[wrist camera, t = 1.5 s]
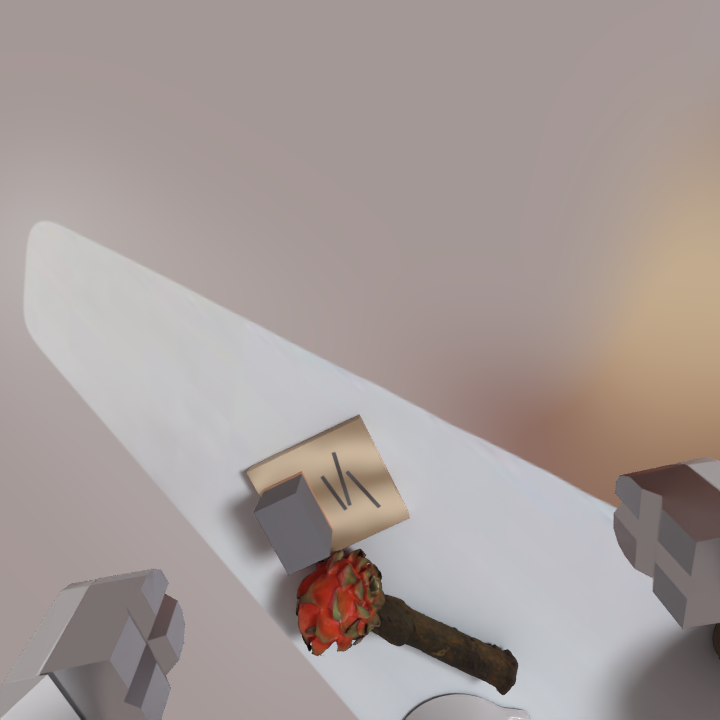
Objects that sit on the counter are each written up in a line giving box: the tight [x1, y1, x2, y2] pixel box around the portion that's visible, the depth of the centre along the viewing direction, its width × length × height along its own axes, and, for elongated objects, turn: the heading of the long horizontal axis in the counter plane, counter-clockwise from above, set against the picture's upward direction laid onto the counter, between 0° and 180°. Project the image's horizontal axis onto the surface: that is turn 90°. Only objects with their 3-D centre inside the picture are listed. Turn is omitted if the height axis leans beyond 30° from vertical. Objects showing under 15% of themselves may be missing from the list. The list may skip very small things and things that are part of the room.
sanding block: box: [254, 471, 333, 575], centre depth 44 cm, size 7×4×5 cm, turn 26°
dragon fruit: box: [296, 549, 385, 656], centre depth 45 cm, size 8×8×12 cm
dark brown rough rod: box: [371, 595, 518, 695], centre depth 48 cm, size 19×4×5 cm, turn 60°
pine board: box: [247, 415, 410, 555], centre depth 47 cm, size 12×13×2 cm
